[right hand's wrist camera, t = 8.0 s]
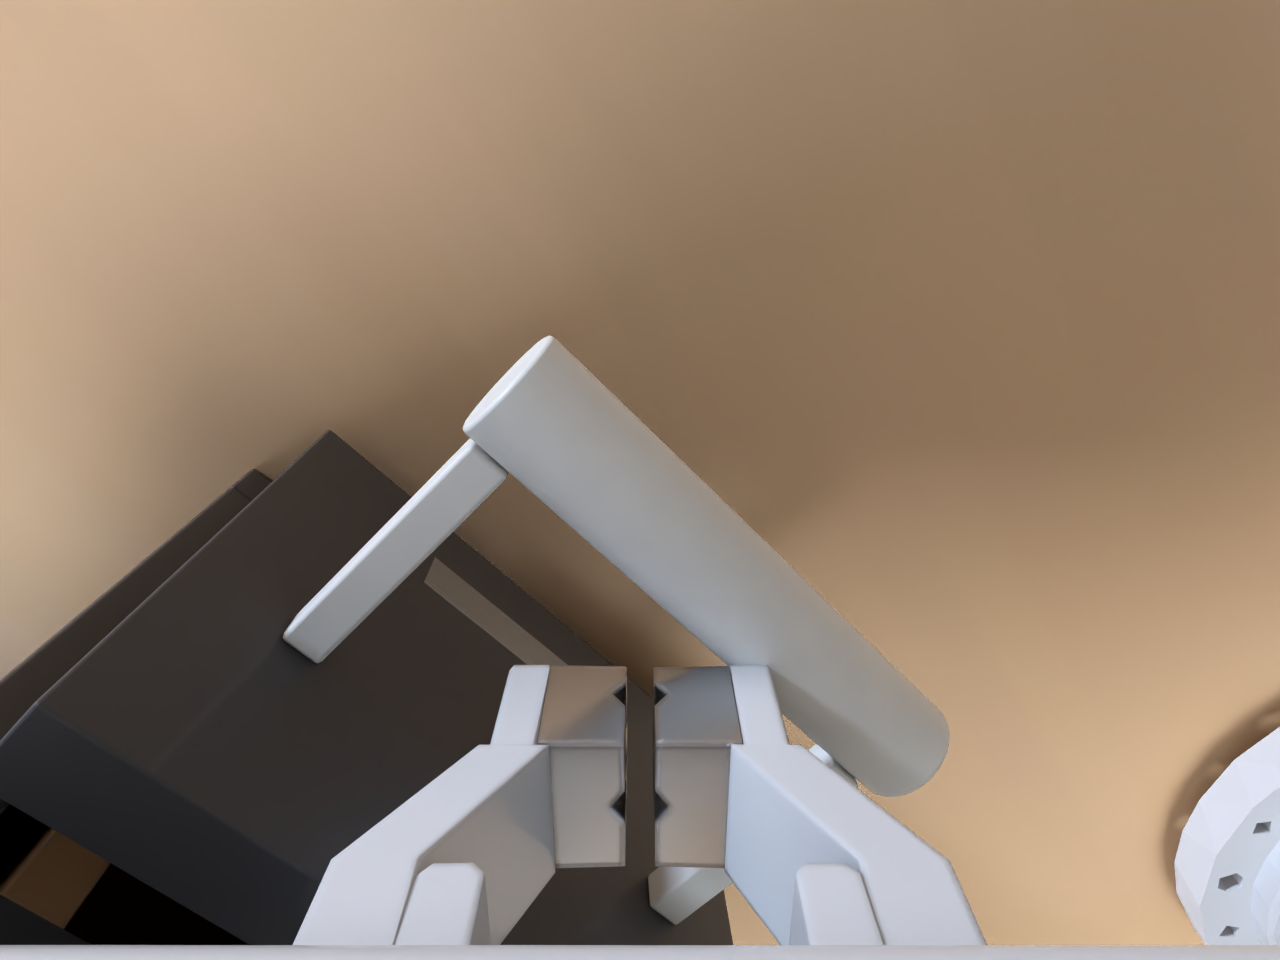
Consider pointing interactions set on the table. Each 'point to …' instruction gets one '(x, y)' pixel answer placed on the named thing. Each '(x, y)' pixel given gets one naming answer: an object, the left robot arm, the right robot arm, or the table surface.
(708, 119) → the table surface
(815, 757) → the right robot arm
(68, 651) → the cabinet
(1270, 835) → the mechanical component
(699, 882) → the drawer
